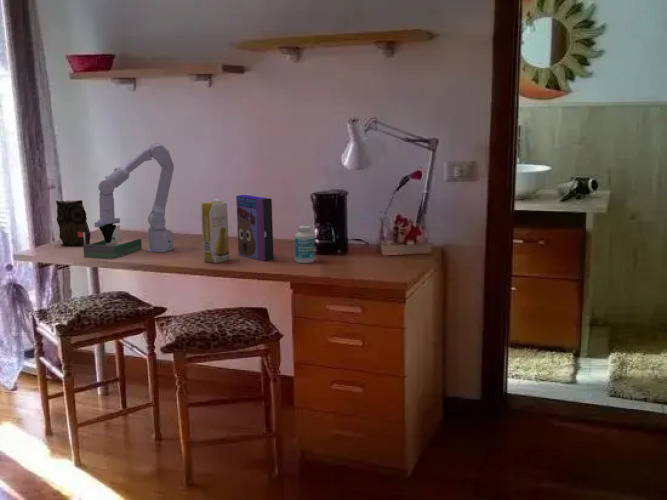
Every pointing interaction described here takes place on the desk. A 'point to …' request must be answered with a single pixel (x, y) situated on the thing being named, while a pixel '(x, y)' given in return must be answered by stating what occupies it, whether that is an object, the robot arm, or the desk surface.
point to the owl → (72, 223)
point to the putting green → (109, 248)
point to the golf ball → (111, 243)
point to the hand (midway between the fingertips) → (108, 242)
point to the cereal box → (255, 227)
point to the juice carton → (215, 231)
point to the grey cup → (116, 233)
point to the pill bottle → (304, 245)
